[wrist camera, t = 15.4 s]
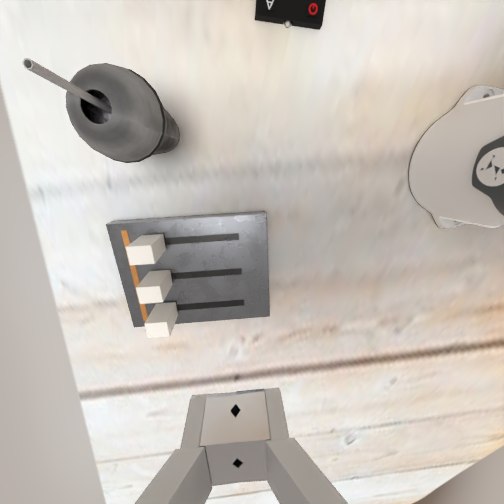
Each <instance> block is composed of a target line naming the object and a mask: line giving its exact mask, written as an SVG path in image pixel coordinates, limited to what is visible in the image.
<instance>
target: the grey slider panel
mask: <svg viewBox="0 0 504 504" xmlns="http://www.w3.org/2000/svg"><path fill="white" fill-rule="evenodd" d="M106 226H107V230H108V233H109V237H110V241H111V244H112V248H113V252H114V255H115V259H116V263H117V266H118V270H119V274H120V277H121V281H122V285H123V288H124V292H125V296H126V299H127V303H128V307H129V310H130V314H131V318H132V321H133V325H134V327H142V326H145V325H144V323H145V322H146V320H147V318H148V317H149V315H150V313H151V311H152V310H153V308H154V306H155V305H156V304H157V303H147V304H140V302H139V298H138V295H137V291H136V287H137V286H138V285H139V283H140V282H141V281H142V280H143V278H144V277H145V276H146V275H147V274H148V272H149V271H160V270H170V272H171V278H172V283H173V285H172V287H171V289H170V290H169V292H168V294H167V296H166V298H165V300H164V301H163V302H160V303H170V302H176V307H177V312H178V317H177V319H176V322H175V324H179V323H192V322H204V321H217V320H229V319H242V318H254V317H267V316H270V311H269V283H268V255H267V226H266V213H265V211H259V212H243V213H228V214H213V215H198V216H183V217H167V218H152V219H137V220H122V221H112V222H110V223H108V224H106ZM153 234H163V236H164V241H165V246H166V251H165V252H164V253H163V254H162V256H161V257H160V258H159V259H158V261H157V262H156V263H155V264H144V265H130V263H129V259H128V255H127V251H126V246H128V245H129V244H130V243H132V242H133V241H134V240H136V239H137V238H138V237H140V236H141V235H153Z"/></svg>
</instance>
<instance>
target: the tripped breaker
mask: <svg viewBox="0 0 504 504" xmlns="http://www.w3.org/2000/svg"><path fill="white" fill-rule="evenodd" d="M177 317H178V312H177V307H176V302H170V303H157V304H156V305H155V306H154V308H153V310H152V311H151V313H150V315H149V317H148V318H147V320H146V322H145V323H144V325H145V329H146V333H147V337H148V338H157V337H169V336H170V334H171V332H172V329H173V327H174V324H175V322H176V319H177Z"/></svg>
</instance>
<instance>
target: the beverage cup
mask: <svg viewBox="0 0 504 504" xmlns="http://www.w3.org/2000/svg"><path fill="white" fill-rule="evenodd" d="M23 65H24V67H25V68H27V69H28V70H30V71H32V72H34V73H36V74H37V75H39V76H41V77H43V78H45V79H47V80H49V81H50V82H52V83H54V84H56V85H58V86H60V87H62V88H64V89H65V90H67V93H66V108H67V111H68V114H69V118H70V121H71V123H72V125H73V127H74V128H75V130H76V131H77V133H78V134H79V136H80V137H81V138H82V139H83V140H84V141H85V142H86V143H87V144H88V145H89V146H90V147H91V148H93V149H94V150H96V151H98V152H99V153H101V154H103V155H105V156H107V157H109V158H111V159H113V160H116V161H121V162H125V163H131V162H140V161H142V160H144V159H146V158H148V157H150V156H151V155H154V154H160V153H166V152H168V151H170V150H172V149H174V148H175V147H176V146H177V144H178V141H179V135H180V134H179V129H178V127H177V125H176V123H175V121H174V119H173V118H172V117H171V116H170V115H169V113H168V112H167V111H166V110H165V109H164V107H163V105H162V103H161V101H160V99H159V97H158V95H157V93H156V91H155V90H154V89H153V88H152V87H151V85H150V84H149V83H148V82H147V81H146V80H145V79H144V78H143V77H141V76H140V75H138V74H137V73H135V72H133V71H132V70H130V69H126V68H123V67H119V66H115V65H111V64H108V63H103V64H94V65H89V66H87V67H85V68H83V69H82V70H80V71H78V72H77V73H76V75H75V76H74V77H73V79H72V80H71V81H70V82H68V81H67V80H65V79H63V78H61V77H60V76H58V75H56V74H54V73H53V72H51V71H49V70H48V69H46V68H44V67H42V66H41V65H39V64H37V63H36V62H34V61H32V60H30V59H29V58H25V59H24V60H23Z"/></svg>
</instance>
